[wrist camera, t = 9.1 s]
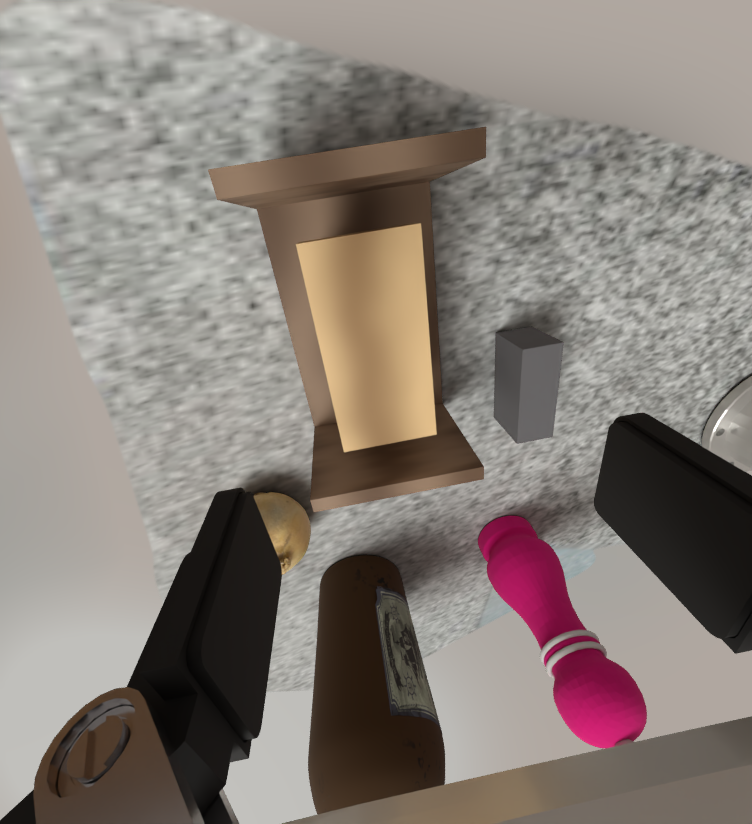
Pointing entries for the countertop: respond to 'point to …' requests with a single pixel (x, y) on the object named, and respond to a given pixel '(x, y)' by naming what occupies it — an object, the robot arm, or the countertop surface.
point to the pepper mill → (562, 636)
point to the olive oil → (369, 692)
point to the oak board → (373, 332)
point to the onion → (285, 526)
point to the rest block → (526, 382)
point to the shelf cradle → (283, 228)
